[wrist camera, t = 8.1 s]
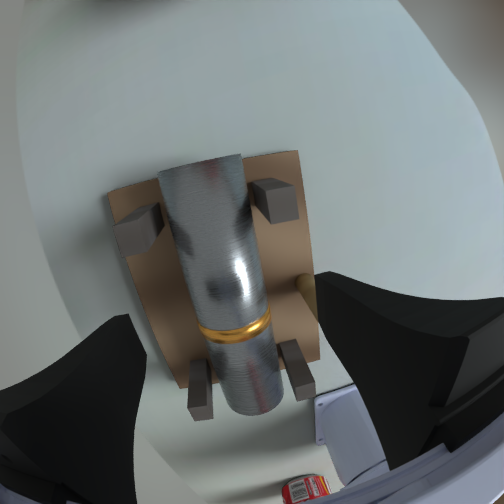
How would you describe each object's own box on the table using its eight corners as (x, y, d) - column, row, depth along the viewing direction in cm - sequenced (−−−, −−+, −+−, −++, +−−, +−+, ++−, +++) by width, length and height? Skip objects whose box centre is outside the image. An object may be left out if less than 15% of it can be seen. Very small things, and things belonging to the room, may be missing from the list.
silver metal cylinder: (275, 367, 20) (292, 406, 16) (222, 381, 19) (230, 422, 15) (235, 154, 15) (249, 151, 11) (161, 171, 14) (149, 174, 10)
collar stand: (316, 351, 21) (340, 400, 16) (180, 380, 20) (176, 434, 15) (292, 150, 16) (328, 148, 11) (112, 190, 15) (71, 207, 10)
